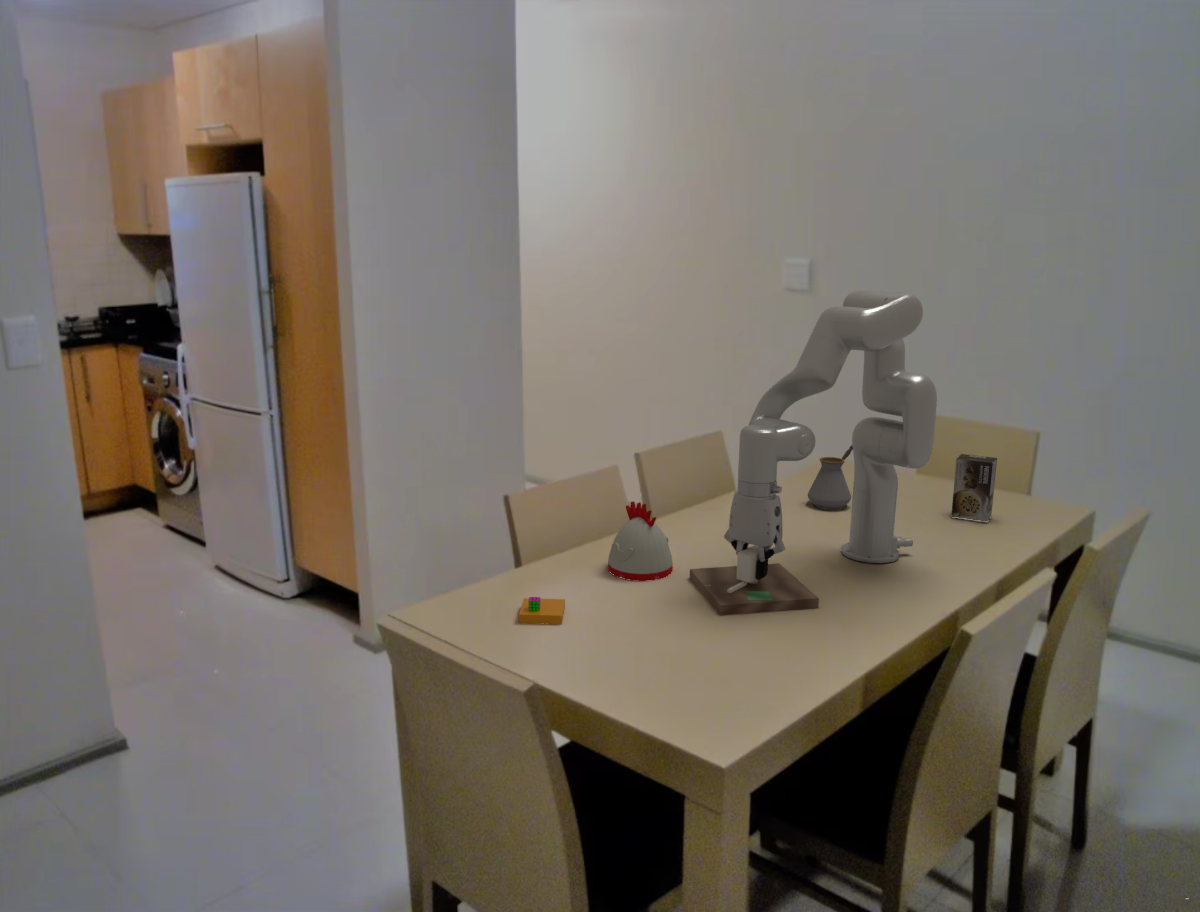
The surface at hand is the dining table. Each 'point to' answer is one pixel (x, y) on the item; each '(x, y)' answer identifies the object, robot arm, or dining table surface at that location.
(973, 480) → the coffee box
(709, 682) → the dining table surface
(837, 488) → the coffee pot
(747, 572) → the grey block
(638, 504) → the chicken figurine
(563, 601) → the orange block with cube
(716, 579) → the dial board
